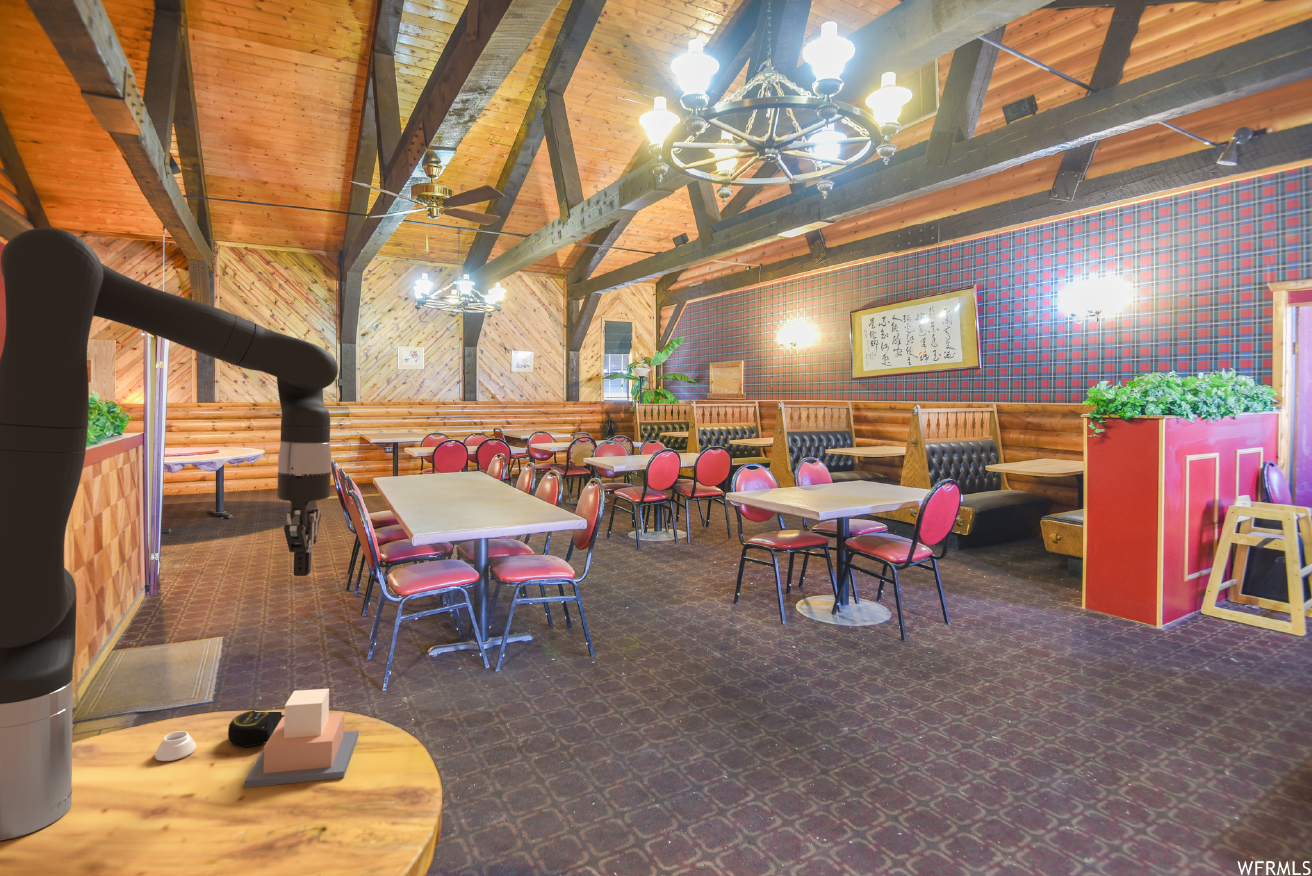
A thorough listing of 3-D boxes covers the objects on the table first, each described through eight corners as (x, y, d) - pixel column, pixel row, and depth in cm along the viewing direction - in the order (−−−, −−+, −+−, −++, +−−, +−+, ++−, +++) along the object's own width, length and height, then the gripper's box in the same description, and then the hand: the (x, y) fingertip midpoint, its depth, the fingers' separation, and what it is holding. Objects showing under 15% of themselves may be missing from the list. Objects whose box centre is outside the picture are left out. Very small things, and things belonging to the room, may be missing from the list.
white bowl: (201, 744, 101) (165, 747, 100) (202, 726, 101) (166, 728, 100) (186, 762, 96) (148, 764, 95) (186, 743, 96) (148, 745, 95)
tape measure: (266, 750, 101) (267, 727, 100) (219, 752, 99) (219, 729, 99) (284, 728, 107) (284, 707, 107) (239, 730, 106) (240, 708, 106)
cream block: (284, 738, 95) (284, 705, 95) (293, 722, 100) (294, 690, 99) (320, 735, 96) (321, 703, 96) (328, 719, 101) (329, 688, 101)
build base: (244, 787, 91) (244, 753, 90) (270, 743, 102) (271, 713, 102) (343, 777, 94) (344, 745, 94) (358, 736, 106) (359, 707, 105)
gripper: (290, 464, 108) (288, 565, 109) (265, 473, 96) (263, 587, 96) (338, 466, 110) (336, 564, 111) (320, 474, 98) (317, 585, 98)
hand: (302, 574), depth 104 cm, fingers closed
